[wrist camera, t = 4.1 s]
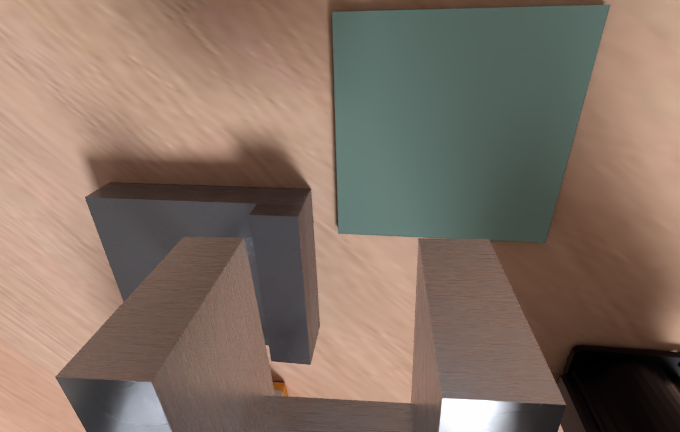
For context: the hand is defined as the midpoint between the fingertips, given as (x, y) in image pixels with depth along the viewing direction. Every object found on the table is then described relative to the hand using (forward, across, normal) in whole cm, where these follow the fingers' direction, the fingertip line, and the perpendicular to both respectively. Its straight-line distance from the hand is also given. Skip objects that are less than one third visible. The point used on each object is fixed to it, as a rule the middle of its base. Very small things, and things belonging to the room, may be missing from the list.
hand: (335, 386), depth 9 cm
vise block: (+12, +9, +5) cm, 16 cm away
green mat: (+12, -4, -2) cm, 13 cm away
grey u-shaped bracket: (+1, 0, 0) cm, 1 cm away
